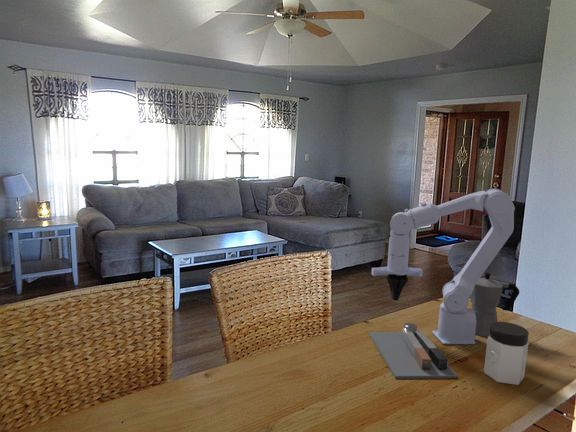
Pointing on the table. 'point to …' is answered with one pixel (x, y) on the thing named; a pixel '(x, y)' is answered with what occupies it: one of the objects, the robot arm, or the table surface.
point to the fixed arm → (432, 350)
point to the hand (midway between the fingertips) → (394, 299)
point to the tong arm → (415, 346)
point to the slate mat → (404, 358)
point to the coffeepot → (489, 302)
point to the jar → (506, 352)
